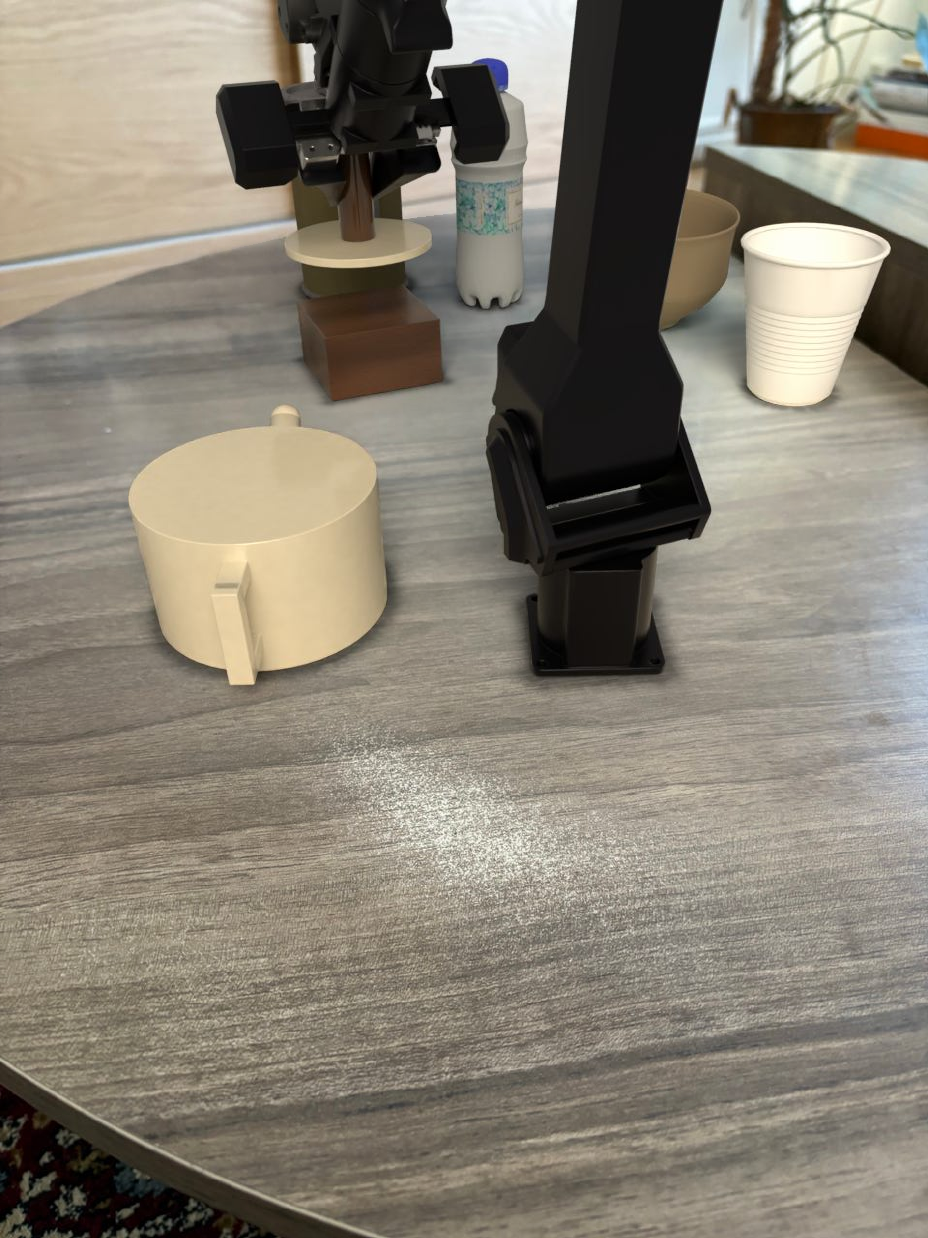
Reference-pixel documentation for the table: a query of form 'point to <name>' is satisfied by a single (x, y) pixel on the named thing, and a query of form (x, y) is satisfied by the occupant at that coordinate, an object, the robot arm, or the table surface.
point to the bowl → (699, 255)
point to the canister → (317, 210)
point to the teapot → (262, 545)
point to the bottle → (492, 211)
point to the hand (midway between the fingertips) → (350, 198)
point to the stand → (370, 341)
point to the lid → (357, 229)
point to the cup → (804, 305)
